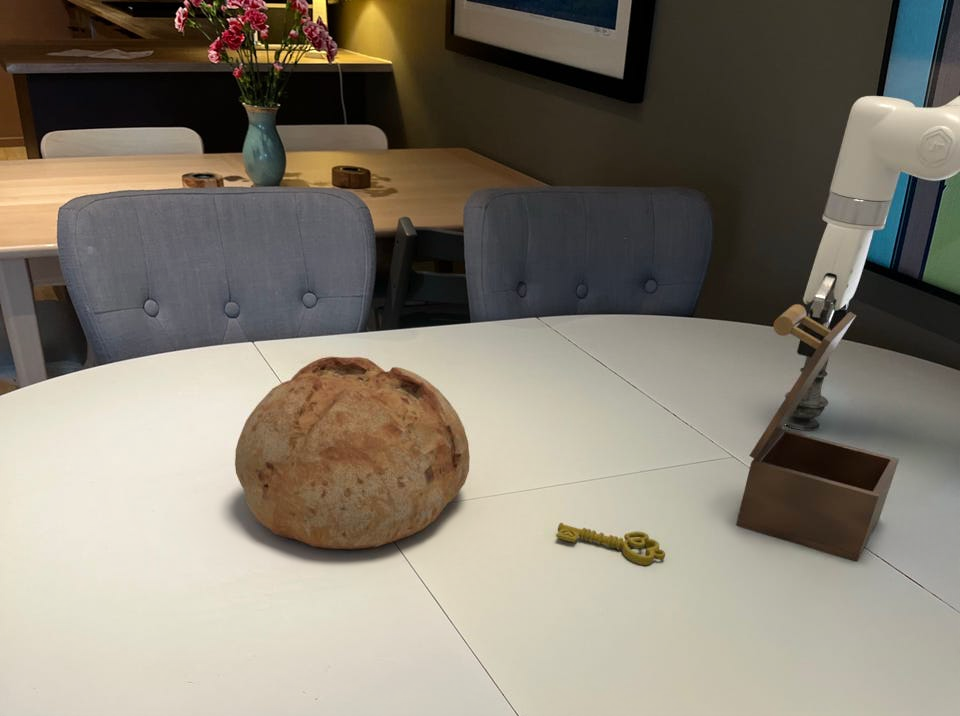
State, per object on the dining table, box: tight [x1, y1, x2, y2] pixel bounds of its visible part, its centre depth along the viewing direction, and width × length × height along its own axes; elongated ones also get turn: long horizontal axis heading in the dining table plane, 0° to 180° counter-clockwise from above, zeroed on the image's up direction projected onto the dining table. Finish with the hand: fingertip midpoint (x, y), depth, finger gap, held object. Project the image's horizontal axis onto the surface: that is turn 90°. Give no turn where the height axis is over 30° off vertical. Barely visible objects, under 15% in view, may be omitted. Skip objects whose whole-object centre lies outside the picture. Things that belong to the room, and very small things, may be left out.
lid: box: [749, 303, 857, 459], centre depth 107 cm, size 14×12×6 cm
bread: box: [234, 356, 471, 550], centre depth 106 cm, size 26×23×15 cm
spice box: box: [735, 428, 900, 562], centre depth 111 cm, size 14×12×8 cm
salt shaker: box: [784, 356, 830, 431], centre depth 135 cm, size 6×6×12 cm
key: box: [555, 522, 666, 566], centre depth 105 cm, size 12×1×5 cm
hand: (818, 346), depth 132 cm, fingers open, 9 cm apart
